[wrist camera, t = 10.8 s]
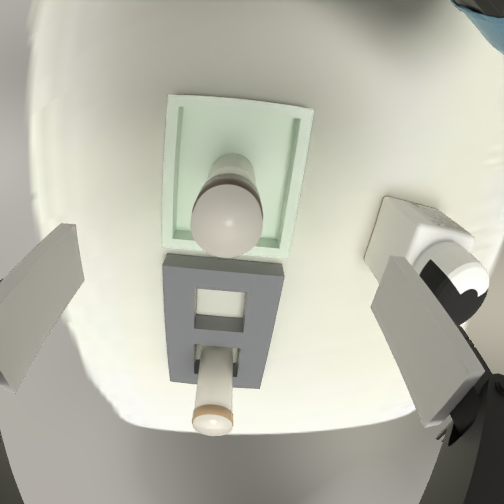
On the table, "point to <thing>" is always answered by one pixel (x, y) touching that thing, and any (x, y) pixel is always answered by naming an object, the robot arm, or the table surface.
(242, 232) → the fuse
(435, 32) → the table surface
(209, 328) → the fuse block
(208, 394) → the cylinder
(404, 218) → the container
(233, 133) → the parts tray
